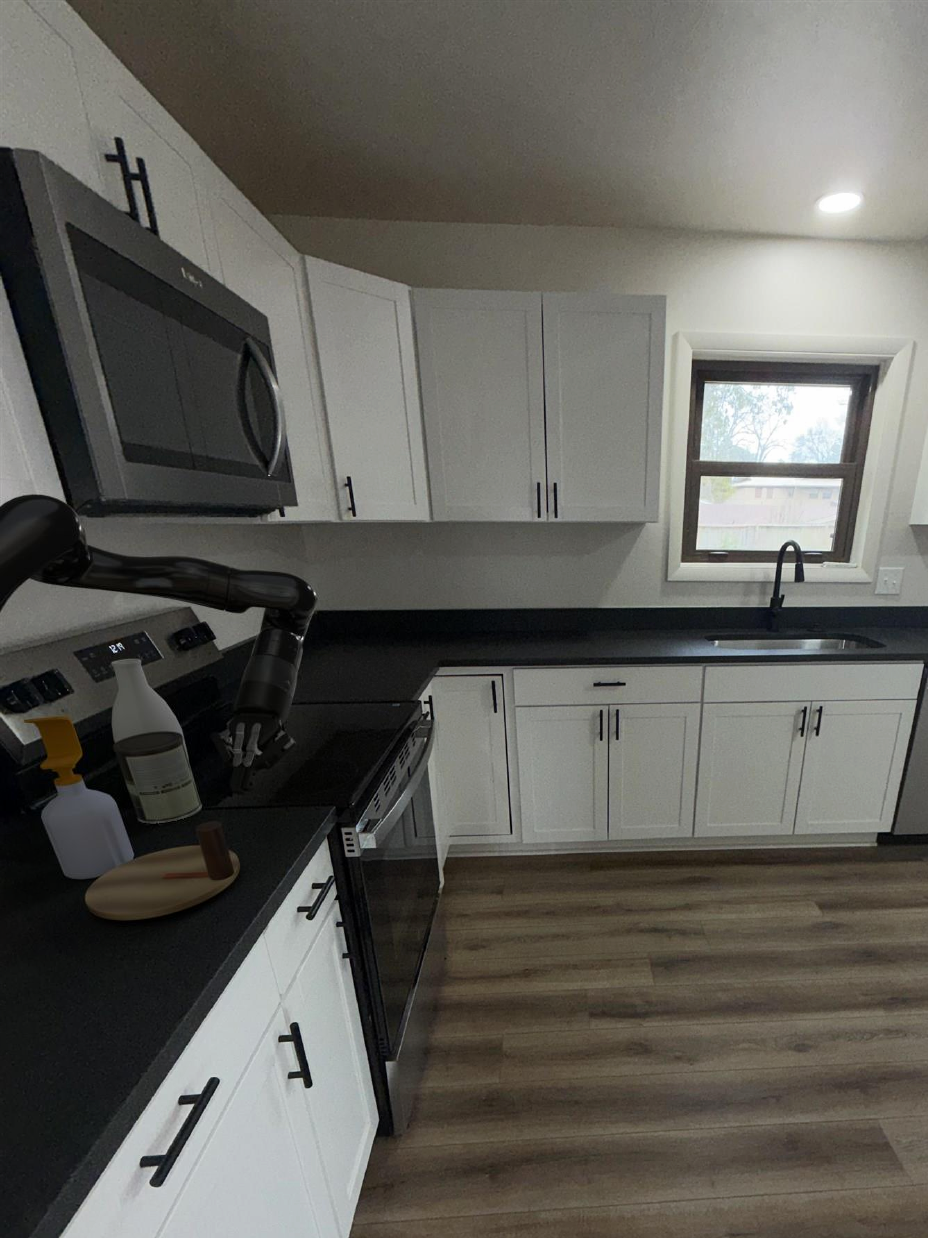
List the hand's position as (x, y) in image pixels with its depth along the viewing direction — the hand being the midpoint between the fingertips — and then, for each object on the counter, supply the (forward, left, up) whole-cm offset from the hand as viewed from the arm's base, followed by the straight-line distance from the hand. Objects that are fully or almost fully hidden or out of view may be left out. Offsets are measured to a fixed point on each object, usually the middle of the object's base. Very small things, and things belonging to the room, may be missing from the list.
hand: (239, 792), depth 95 cm
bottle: (-38, +25, -13) cm, 47 cm away
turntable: (-8, -8, -11) cm, 16 cm away
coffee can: (-28, +15, -13) cm, 34 cm away
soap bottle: (-24, -4, -13) cm, 28 cm away
